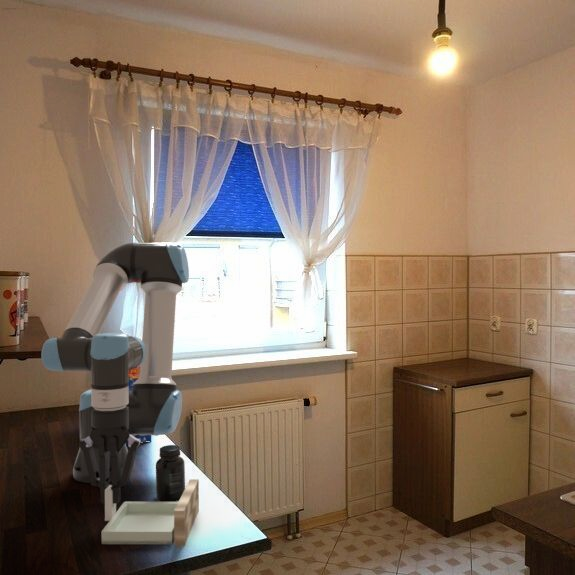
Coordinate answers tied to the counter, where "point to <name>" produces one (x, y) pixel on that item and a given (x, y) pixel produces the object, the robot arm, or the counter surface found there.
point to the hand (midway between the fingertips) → (110, 517)
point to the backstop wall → (186, 512)
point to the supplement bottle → (170, 474)
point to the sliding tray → (141, 524)
